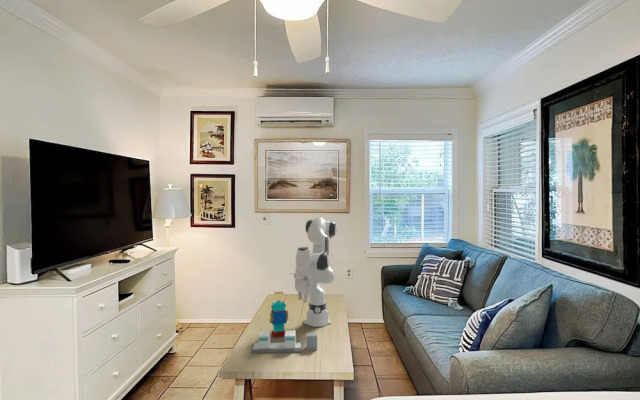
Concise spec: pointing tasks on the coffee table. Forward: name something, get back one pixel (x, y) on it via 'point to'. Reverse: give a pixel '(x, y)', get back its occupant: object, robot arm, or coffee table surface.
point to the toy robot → (278, 318)
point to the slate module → (311, 341)
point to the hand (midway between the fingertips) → (302, 301)
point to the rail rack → (268, 347)
